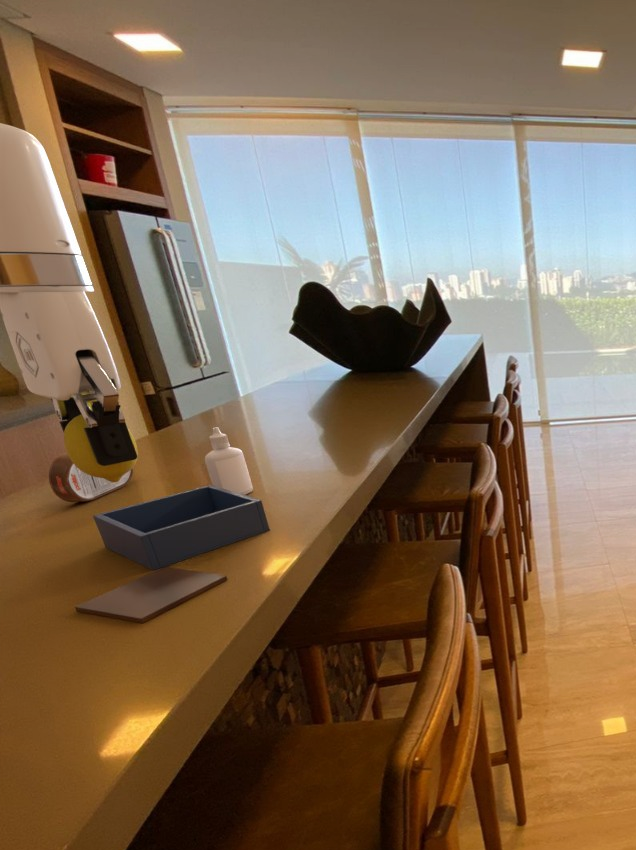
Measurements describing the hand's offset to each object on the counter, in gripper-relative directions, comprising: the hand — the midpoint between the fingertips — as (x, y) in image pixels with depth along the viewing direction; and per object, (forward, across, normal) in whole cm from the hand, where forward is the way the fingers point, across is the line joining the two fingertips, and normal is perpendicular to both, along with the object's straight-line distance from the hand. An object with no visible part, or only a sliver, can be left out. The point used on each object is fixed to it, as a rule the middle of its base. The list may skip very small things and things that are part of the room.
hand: (105, 456), depth 61 cm
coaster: (+17, 0, 0) cm, 17 cm away
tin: (+17, -50, +12) cm, 55 cm away
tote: (+17, -15, +10) cm, 24 cm away
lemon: (+3, 0, 0) cm, 3 cm away
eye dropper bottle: (+17, -28, +23) cm, 40 cm away
